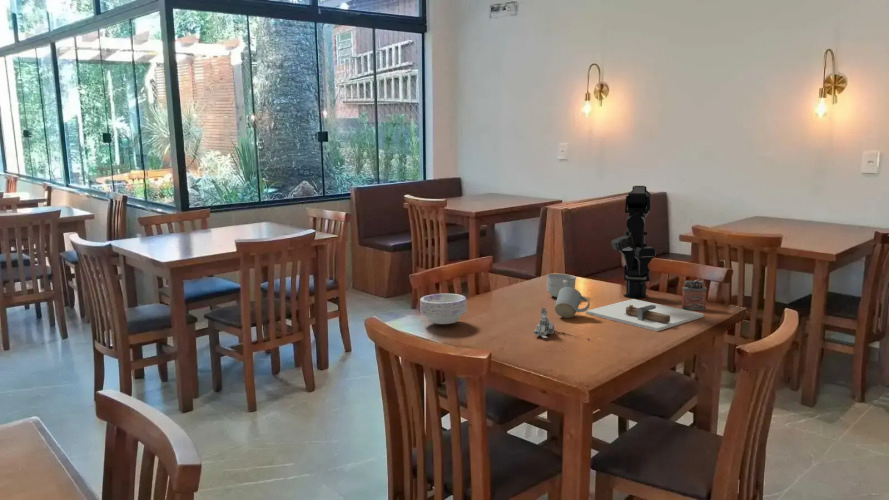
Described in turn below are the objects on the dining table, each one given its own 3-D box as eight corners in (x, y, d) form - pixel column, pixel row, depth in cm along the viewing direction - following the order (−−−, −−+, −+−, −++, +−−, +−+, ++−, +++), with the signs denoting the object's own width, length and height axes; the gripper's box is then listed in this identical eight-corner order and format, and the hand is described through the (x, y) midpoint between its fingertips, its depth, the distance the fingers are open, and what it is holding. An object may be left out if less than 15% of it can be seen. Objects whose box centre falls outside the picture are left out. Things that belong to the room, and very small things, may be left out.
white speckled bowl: (433, 313, 232) (433, 290, 231) (473, 317, 226) (473, 294, 224) (412, 324, 219) (411, 300, 217) (454, 329, 212) (454, 305, 211)
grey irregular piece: (558, 339, 201) (558, 314, 200) (531, 335, 205) (531, 311, 204) (567, 331, 209) (568, 307, 208) (541, 328, 213) (541, 304, 212)
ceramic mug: (561, 321, 225) (548, 305, 222) (567, 304, 230) (555, 288, 228) (588, 315, 218) (575, 298, 215) (593, 297, 224) (581, 281, 221)
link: (623, 313, 223) (624, 305, 222) (629, 311, 224) (630, 303, 224) (664, 323, 210) (665, 314, 210) (670, 321, 212) (671, 312, 212)
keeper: (637, 319, 216) (638, 308, 216) (651, 315, 221) (651, 304, 220) (641, 320, 215) (642, 309, 214) (655, 316, 220) (656, 305, 219)
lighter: (704, 307, 234) (705, 279, 233) (707, 310, 231) (708, 281, 229) (680, 307, 235) (681, 279, 233) (682, 309, 232) (684, 281, 230)
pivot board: (586, 313, 228) (586, 310, 228) (632, 301, 244) (633, 298, 244) (657, 331, 207) (657, 327, 206) (703, 316, 222) (703, 313, 222)
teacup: (546, 292, 260) (546, 272, 259) (574, 293, 259) (575, 272, 257) (546, 301, 247) (547, 279, 245) (576, 301, 245) (577, 280, 244)
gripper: (603, 226, 241) (602, 268, 244) (626, 233, 223) (625, 279, 226) (632, 224, 243) (631, 267, 246) (657, 231, 225) (655, 277, 227)
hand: (634, 272), depth 236 cm, fingers open, 9 cm apart
